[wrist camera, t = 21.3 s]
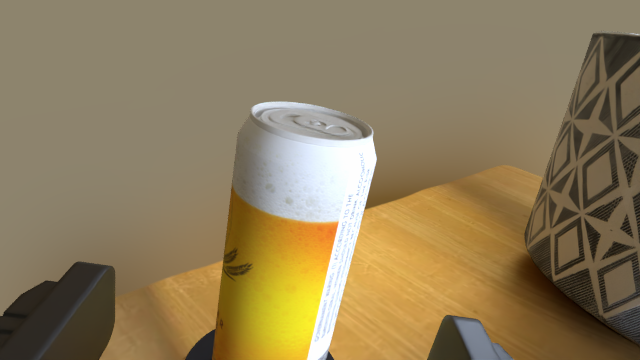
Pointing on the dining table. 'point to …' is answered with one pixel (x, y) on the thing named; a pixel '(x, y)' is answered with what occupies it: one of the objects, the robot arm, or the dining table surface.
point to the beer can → (291, 230)
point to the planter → (596, 189)
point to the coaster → (211, 348)
